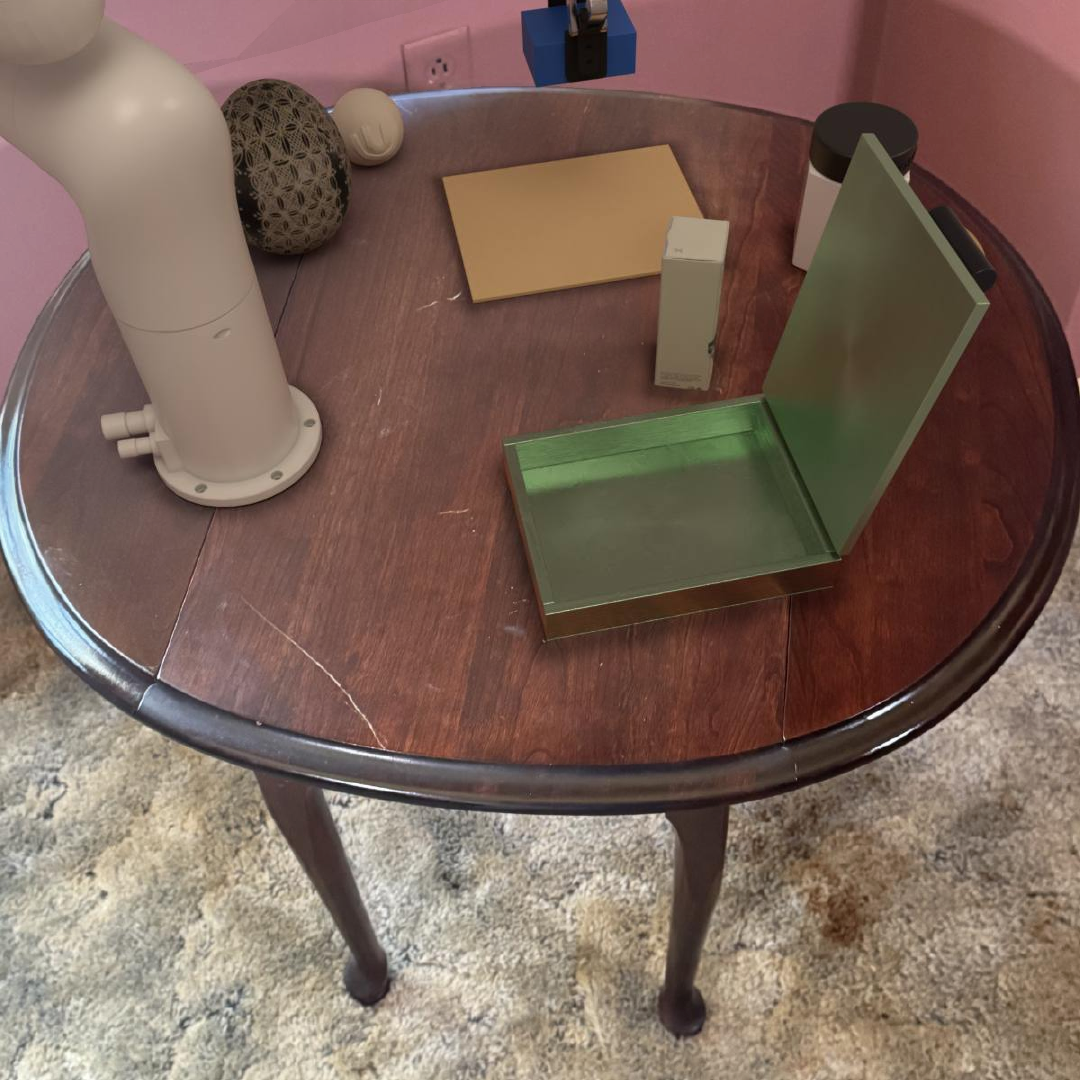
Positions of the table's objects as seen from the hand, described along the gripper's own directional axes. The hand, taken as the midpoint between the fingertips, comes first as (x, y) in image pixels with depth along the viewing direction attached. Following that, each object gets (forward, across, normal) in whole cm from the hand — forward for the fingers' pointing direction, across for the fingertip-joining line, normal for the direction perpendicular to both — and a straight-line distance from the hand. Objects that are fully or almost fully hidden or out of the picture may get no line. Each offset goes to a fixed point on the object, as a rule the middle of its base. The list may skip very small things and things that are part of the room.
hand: (577, 55), depth 88 cm
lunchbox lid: (+1, +36, +9) cm, 37 cm away
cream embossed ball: (+16, -14, -17) cm, 27 cm away
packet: (+1, 0, 0) cm, 1 cm away
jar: (+16, +10, +21) cm, 28 cm away
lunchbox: (+15, +36, -2) cm, 39 cm away
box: (+16, +21, +4) cm, 27 cm away
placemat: (+16, 0, 0) cm, 16 cm away
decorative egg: (+16, -3, -25) cm, 30 cm away
